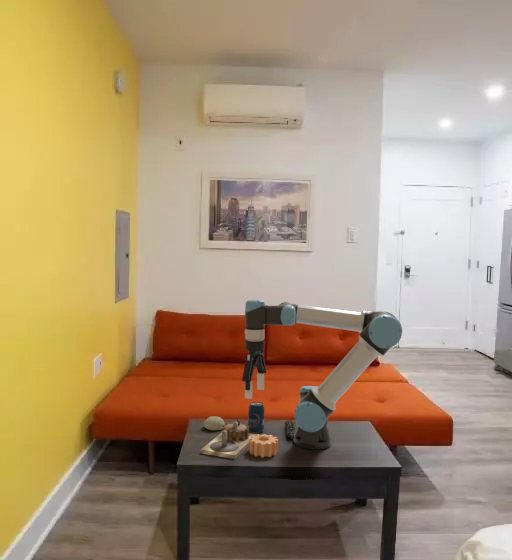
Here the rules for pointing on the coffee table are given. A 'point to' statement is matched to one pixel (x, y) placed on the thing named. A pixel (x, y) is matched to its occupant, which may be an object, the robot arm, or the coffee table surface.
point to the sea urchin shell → (214, 423)
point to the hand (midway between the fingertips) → (254, 393)
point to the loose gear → (263, 445)
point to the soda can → (256, 417)
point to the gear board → (229, 441)
